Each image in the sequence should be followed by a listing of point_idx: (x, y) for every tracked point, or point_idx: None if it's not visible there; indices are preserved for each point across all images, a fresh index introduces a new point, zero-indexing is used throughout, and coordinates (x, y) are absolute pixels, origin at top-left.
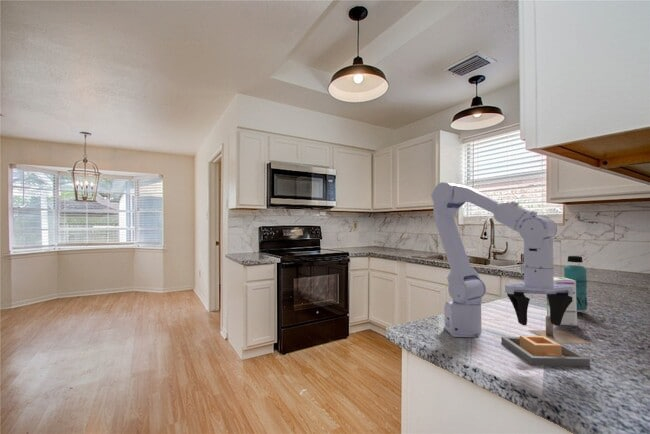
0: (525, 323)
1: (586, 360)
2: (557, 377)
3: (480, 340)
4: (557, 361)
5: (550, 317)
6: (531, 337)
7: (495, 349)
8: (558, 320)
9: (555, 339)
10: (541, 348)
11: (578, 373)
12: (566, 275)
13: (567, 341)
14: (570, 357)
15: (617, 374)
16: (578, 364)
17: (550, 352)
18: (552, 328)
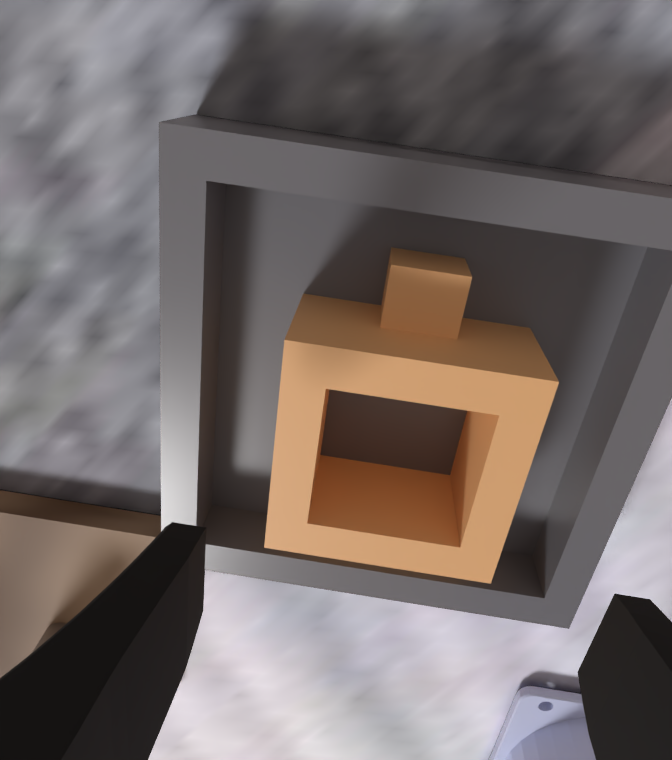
0: (644, 615)
1: (197, 125)
2: (606, 23)
3: None
4: (483, 167)
5: (180, 679)
6: (412, 537)
7: (640, 536)
8: (174, 574)
9: (79, 577)
10: (487, 357)
11: (336, 82)
12: None
13: (12, 540)
14: (326, 181)
15: (2, 31)
16: (282, 135)
17: (409, 320)
18: None
